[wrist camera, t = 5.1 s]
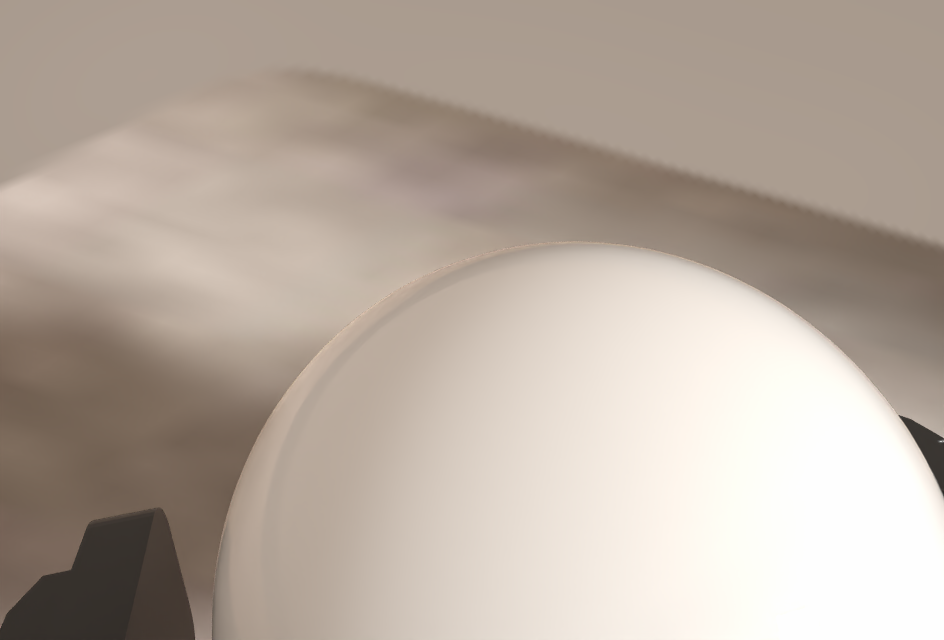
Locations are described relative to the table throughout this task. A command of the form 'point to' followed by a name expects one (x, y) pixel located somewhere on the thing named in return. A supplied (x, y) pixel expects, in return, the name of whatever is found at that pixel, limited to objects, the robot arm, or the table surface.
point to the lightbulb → (582, 469)
